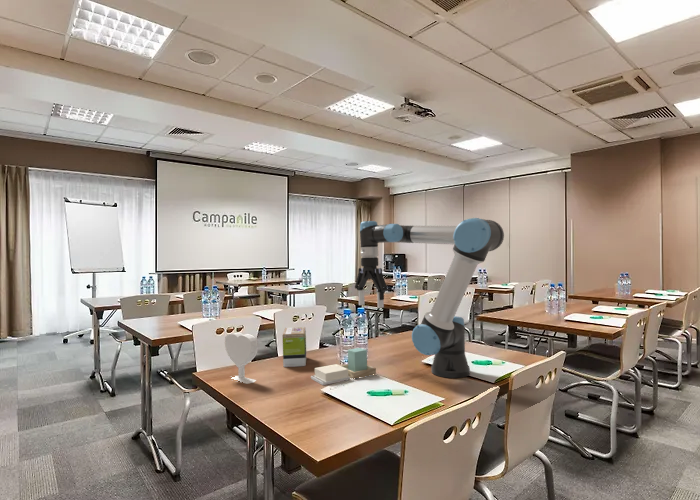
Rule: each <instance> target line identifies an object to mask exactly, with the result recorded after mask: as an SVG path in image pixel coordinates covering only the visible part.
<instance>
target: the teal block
mask: <svg viewBox="0 0 700 500" xmlns="http://www.w3.org/2000/svg"><path fill="white" fill-rule="evenodd" d="M347 364H348V369H349V370H351V371H353V372H357V371H362V370H367V365H368V350H367V349H365V348H362V347H355V348H350V349H347Z"/></svg>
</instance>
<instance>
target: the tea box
mask: <svg viewBox="0 0 700 500" xmlns="http://www.w3.org/2000/svg"><path fill="white" fill-rule="evenodd" d="M306 333H307V331H306V327H305V326H302V327H285V328H284V330H283V332H282V363H283V367H284V368H291V367H292V368H293V367H295V368H296V367H306V365H307V364H306V363H307V335H306Z"/></svg>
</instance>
